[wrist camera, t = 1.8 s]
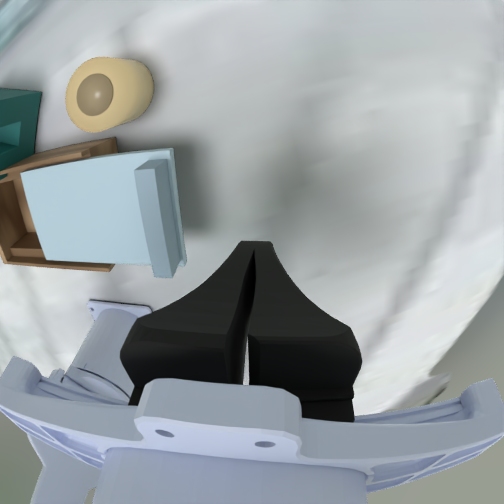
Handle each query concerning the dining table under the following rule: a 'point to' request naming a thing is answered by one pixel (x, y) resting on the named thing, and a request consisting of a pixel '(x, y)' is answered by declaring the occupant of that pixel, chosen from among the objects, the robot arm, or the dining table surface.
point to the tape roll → (108, 93)
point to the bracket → (17, 125)
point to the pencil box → (18, 214)
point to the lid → (109, 210)
